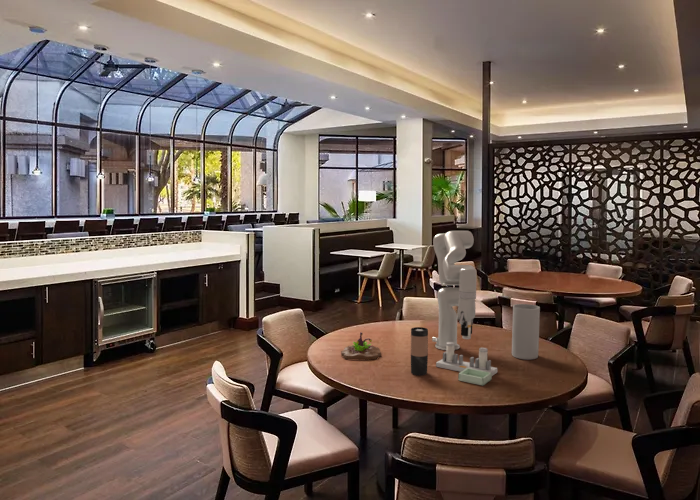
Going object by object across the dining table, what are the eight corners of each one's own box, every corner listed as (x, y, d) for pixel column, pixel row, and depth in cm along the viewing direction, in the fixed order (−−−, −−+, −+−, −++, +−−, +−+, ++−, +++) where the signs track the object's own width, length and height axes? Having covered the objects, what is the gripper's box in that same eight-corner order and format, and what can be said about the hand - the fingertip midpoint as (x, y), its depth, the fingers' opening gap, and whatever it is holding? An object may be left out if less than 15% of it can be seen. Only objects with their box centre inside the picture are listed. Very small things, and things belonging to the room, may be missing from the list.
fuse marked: (461, 338, 241) (461, 319, 240) (464, 336, 244) (464, 317, 243) (468, 339, 239) (469, 320, 238) (472, 337, 241) (472, 318, 241)
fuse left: (444, 362, 246) (445, 343, 245) (448, 360, 249) (448, 341, 248) (452, 363, 244) (452, 344, 243) (455, 361, 247) (455, 342, 246)
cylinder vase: (539, 360, 255) (541, 309, 252) (512, 359, 257) (514, 308, 255) (536, 353, 267) (537, 304, 265) (510, 352, 269) (511, 303, 267)
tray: (458, 380, 228) (458, 373, 227) (467, 374, 235) (467, 368, 235) (483, 385, 221) (483, 378, 221) (491, 379, 228) (491, 372, 228)
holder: (435, 366, 246) (436, 354, 246) (444, 361, 253) (444, 349, 253) (489, 377, 231) (489, 364, 230) (497, 372, 238) (497, 359, 237)
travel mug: (430, 371, 239) (430, 328, 237) (423, 376, 232) (424, 332, 230) (414, 369, 243) (415, 326, 241) (407, 373, 236) (408, 329, 234)
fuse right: (477, 368, 237) (477, 349, 236) (480, 366, 240) (481, 347, 239) (485, 370, 235) (485, 350, 234) (488, 368, 238) (488, 348, 237)
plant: (382, 350, 275) (382, 328, 274) (380, 361, 255) (380, 338, 254) (343, 349, 277) (343, 328, 276) (339, 360, 258) (338, 337, 257)
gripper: (467, 291, 248) (466, 329, 250) (451, 297, 234) (450, 337, 237) (482, 293, 243) (481, 332, 245) (467, 299, 230) (466, 340, 232)
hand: (466, 334), depth 241 cm, fingers closed on fuse marked, 3 cm apart
